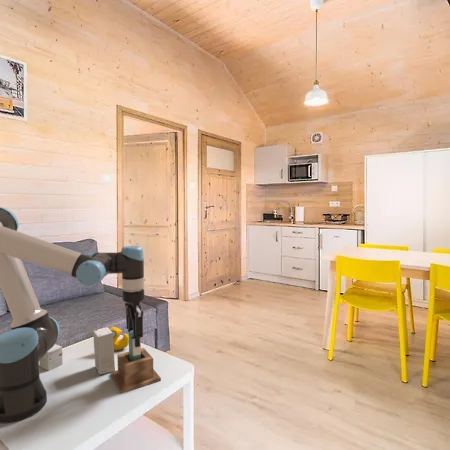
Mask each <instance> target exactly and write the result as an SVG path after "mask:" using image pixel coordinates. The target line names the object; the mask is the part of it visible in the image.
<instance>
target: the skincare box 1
mask: <svg viewBox="0 0 450 450" xmlns="http://www.w3.org/2000/svg"><path fill="white" fill-rule="evenodd" d="M63 364H64V363H63V346H61V345H58V344H56V343H55V344H54V346H53V347H52V348H51V349H50V350H48V352H47V353H46V354H45V355H44V356H43V357H42V358H41V359H40V360H39V368H40V369H43V370H46V371H48V372H49V371H50V370H53V369H55V368H58V367H59V366H62V365H63Z"/></svg>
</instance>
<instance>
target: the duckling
mask: <svg viewBox="0 0 450 450" xmlns="http://www.w3.org/2000/svg"><path fill="white" fill-rule="evenodd" d="M109 329H110V330H111V332H112V333H113V347H114V352H116V351H120V350H122V349H125V348H126V347H128V346H129V333H124V334H123V336H122V338H121V339H120V336H121V334H122V331H123V330H122V329H120V328H118V327H116V326H113V327H110V328H109Z"/></svg>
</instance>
